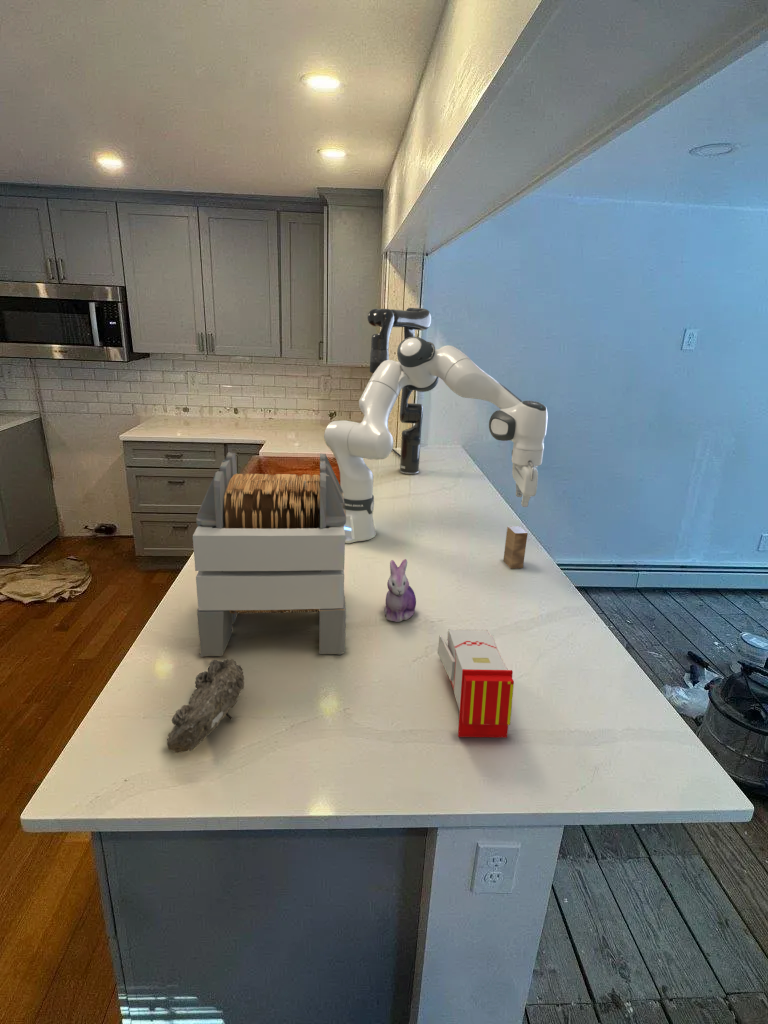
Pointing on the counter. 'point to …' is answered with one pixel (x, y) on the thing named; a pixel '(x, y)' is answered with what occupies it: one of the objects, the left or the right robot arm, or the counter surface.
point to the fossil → (206, 705)
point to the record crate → (270, 552)
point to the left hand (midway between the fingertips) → (521, 501)
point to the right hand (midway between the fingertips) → (377, 400)
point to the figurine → (399, 594)
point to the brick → (515, 547)
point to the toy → (478, 682)
